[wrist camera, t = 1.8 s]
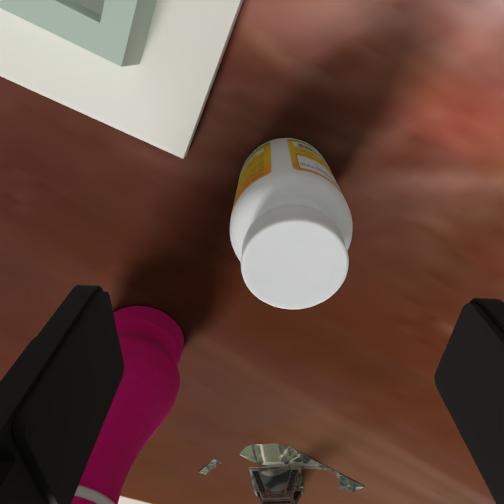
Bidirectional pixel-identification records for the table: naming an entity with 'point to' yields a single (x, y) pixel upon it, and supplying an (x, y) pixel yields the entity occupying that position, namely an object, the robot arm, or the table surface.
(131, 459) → the pepper mill
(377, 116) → the table surface
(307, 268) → the supplement bottle
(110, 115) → the cup holder
